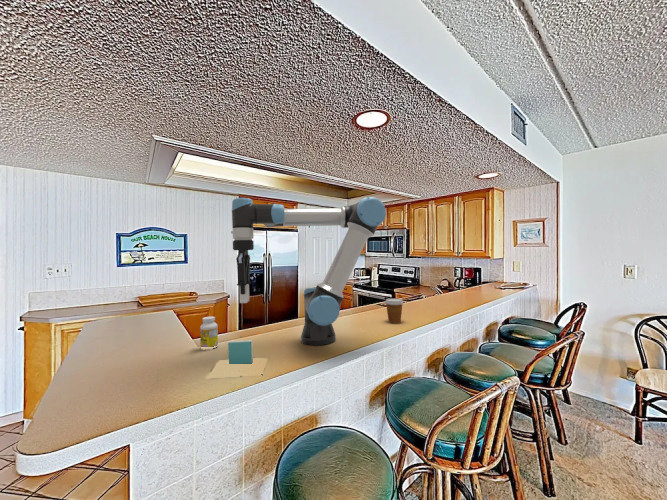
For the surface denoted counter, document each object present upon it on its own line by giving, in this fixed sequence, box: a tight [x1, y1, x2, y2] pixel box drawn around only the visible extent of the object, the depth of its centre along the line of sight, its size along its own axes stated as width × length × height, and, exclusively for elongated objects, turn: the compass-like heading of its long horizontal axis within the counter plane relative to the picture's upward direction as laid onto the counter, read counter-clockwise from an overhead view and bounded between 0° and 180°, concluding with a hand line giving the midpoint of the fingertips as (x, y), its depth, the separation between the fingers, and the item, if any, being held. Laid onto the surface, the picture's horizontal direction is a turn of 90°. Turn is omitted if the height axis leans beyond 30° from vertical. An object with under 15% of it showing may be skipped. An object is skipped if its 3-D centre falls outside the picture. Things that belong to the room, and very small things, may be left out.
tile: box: [227, 339, 254, 364], centre depth 104 cm, size 8×2×8 cm, turn 95°
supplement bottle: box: [199, 315, 219, 348], centre depth 124 cm, size 7×7×13 cm
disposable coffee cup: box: [384, 298, 404, 324], centre depth 162 cm, size 10×10×12 cm
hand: (244, 301), depth 113 cm, fingers open, 3 cm apart
